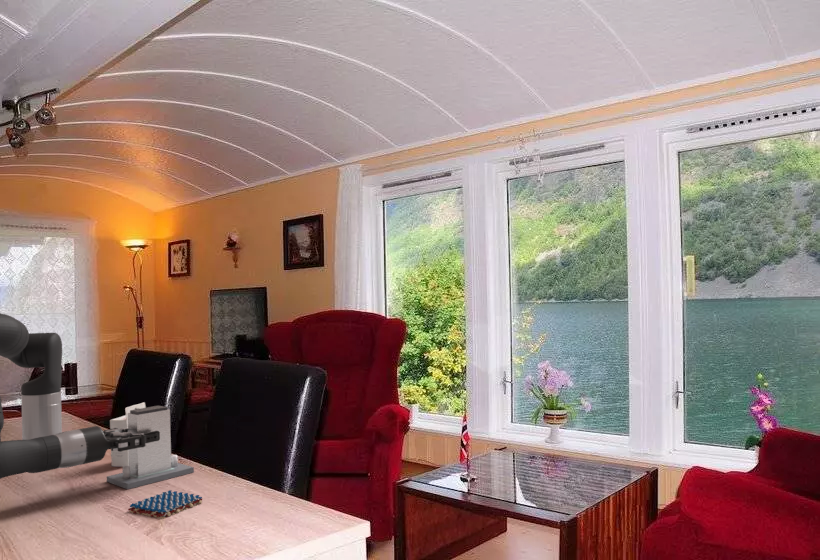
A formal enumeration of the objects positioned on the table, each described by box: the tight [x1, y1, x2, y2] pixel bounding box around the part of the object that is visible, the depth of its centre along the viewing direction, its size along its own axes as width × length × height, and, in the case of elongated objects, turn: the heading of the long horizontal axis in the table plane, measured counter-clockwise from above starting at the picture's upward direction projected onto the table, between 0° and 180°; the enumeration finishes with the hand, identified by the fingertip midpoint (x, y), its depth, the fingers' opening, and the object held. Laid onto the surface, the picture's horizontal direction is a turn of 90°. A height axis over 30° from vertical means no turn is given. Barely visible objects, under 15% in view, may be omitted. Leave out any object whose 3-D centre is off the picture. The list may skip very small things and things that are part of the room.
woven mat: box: [127, 489, 203, 520], centre depth 128 cm, size 10×11×2 cm
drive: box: [128, 405, 172, 477], centre depth 150 cm, size 4×8×15 cm, turn 140°
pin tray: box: [106, 454, 195, 490], centre depth 150 cm, size 16×10×4 cm, turn 140°
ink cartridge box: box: [109, 401, 147, 468], centre depth 164 cm, size 9×5×15 cm, turn 168°
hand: (149, 433), depth 150 cm, fingers open, 8 cm apart
